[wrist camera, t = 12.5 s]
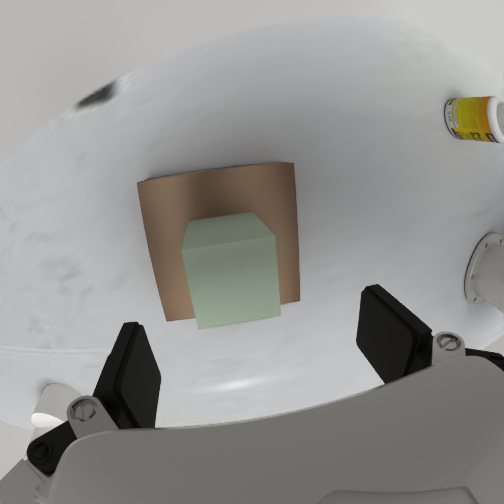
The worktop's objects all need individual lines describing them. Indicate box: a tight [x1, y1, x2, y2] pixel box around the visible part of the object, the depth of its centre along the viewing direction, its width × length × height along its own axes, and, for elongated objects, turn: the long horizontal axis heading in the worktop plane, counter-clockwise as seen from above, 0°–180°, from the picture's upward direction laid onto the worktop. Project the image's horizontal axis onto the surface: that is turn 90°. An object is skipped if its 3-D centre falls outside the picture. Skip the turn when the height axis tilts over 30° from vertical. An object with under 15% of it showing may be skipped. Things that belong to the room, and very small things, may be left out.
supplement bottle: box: [445, 96, 504, 143], centre depth 21 cm, size 6×6×10 cm
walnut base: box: [137, 162, 300, 321], centre depth 24 cm, size 12×12×4 cm
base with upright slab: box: [25, 384, 82, 459], centre depth 24 cm, size 9×9×12 cm
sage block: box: [181, 212, 281, 329], centre depth 19 cm, size 5×5×7 cm
